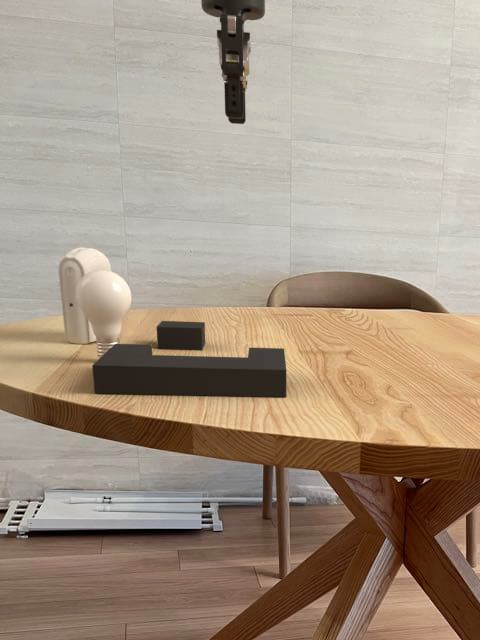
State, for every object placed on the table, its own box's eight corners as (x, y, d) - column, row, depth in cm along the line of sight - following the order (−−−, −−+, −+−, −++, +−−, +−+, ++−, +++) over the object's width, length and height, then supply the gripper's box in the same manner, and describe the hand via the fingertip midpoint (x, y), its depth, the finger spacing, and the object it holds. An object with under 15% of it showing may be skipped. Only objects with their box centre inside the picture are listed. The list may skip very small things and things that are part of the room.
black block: (157, 348, 114) (156, 326, 112) (162, 342, 119) (161, 320, 118) (202, 350, 115) (201, 328, 113) (205, 343, 120) (204, 322, 119)
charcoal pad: (94, 393, 87) (91, 365, 86) (116, 368, 99) (114, 343, 98) (286, 397, 90) (286, 369, 89) (284, 372, 103) (284, 348, 101)
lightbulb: (145, 360, 106) (140, 270, 101) (116, 367, 100) (109, 272, 96) (103, 355, 107) (95, 266, 103) (71, 362, 101) (62, 268, 97)
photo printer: (91, 345, 114) (83, 250, 109) (61, 343, 114) (51, 248, 109) (120, 334, 123) (113, 247, 118) (91, 332, 123) (84, 245, 119)
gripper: (204, -20, 104) (209, 123, 110) (195, -52, 91) (201, 113, 97) (264, -15, 105) (266, 127, 111) (264, -45, 92) (265, 118, 98)
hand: (235, 120), depth 104 cm, fingers open, 8 cm apart
